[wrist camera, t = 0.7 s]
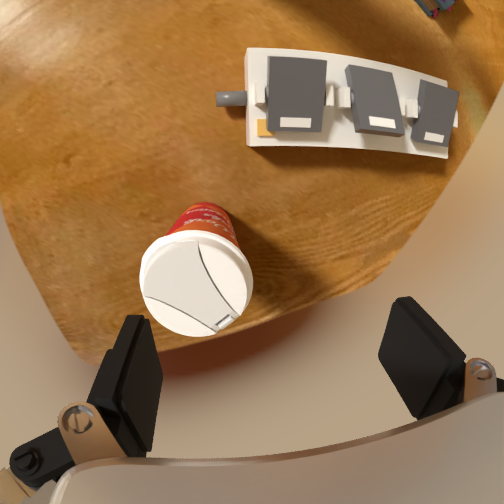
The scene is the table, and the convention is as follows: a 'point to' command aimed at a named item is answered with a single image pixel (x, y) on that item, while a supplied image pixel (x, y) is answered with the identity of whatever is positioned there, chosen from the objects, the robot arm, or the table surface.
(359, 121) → the rocker mid
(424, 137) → the rocker
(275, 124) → the rocker
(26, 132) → the table surface
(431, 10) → the decorative book
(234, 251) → the coffee cup
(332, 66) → the strip
